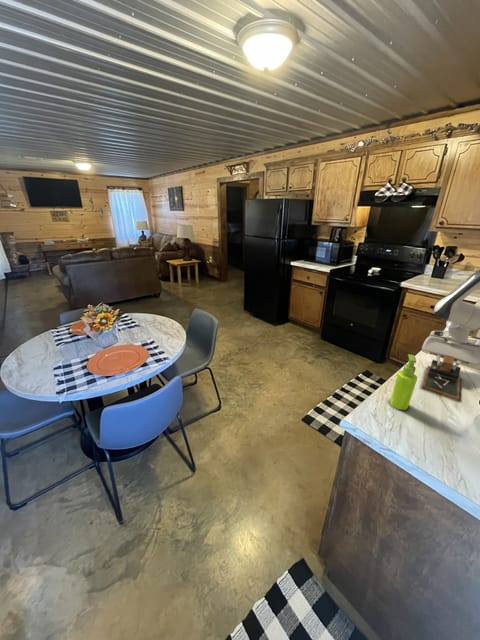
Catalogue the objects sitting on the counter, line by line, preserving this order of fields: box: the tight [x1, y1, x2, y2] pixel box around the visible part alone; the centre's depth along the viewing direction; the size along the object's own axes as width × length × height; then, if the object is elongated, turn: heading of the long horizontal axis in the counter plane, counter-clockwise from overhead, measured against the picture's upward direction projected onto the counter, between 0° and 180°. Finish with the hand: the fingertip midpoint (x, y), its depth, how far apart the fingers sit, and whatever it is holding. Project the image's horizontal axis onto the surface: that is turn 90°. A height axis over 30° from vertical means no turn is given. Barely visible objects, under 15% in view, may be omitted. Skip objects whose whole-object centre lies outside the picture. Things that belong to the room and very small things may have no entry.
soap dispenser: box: [389, 353, 418, 411], centre depth 95 cm, size 6×7×20 cm
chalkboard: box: [421, 365, 461, 401], centre depth 111 cm, size 20×12×1 cm, turn 141°
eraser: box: [429, 355, 462, 380], centre depth 113 cm, size 10×5×8 cm, turn 51°
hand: (445, 367), depth 112 cm, fingers closed on eraser, 3 cm apart
